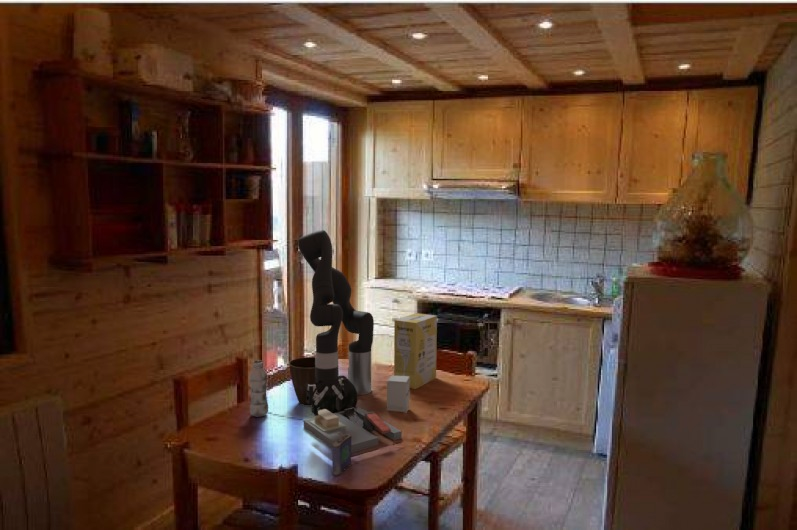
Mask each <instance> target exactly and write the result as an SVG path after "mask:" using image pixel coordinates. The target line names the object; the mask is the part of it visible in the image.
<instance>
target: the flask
mask: <svg viewBox="0 0 797 530" xmlns="http://www.w3.org/2000/svg"><path fill="white" fill-rule="evenodd" d="M338 434H339V437H338V439H337V440H336V441H335V442H334V444H333V446H332V447H333V449H332V471H331V472H332V476H336V477H338V476H340V474H341V473H342V474H343V473H344V472H345V471H344V469H345V470H347V468H348V467H350V466H351V465H352V457H351V456H352V453H351V435H350V434H344V435H343V434H342V433H341V434H340V433H338ZM343 471H344V472H343ZM342 474H341V475H342Z"/></svg>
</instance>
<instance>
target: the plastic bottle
mask: <svg viewBox="0 0 797 530" xmlns="http://www.w3.org/2000/svg"><path fill="white" fill-rule="evenodd" d="M264 367H265V366H264V360H261V359H260V360H253V362H252V370H251V371H250V373H249V375H248V376H249V377H248V380H249V385H250V391H251V392H250V405H249V412H250V415H251V416H252V417H254V416H255V418H260V417H265V416H266V415H267V414H268V413H269V403H268V397H267V383H268V373H267V371H266V370H265V369H264Z"/></svg>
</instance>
